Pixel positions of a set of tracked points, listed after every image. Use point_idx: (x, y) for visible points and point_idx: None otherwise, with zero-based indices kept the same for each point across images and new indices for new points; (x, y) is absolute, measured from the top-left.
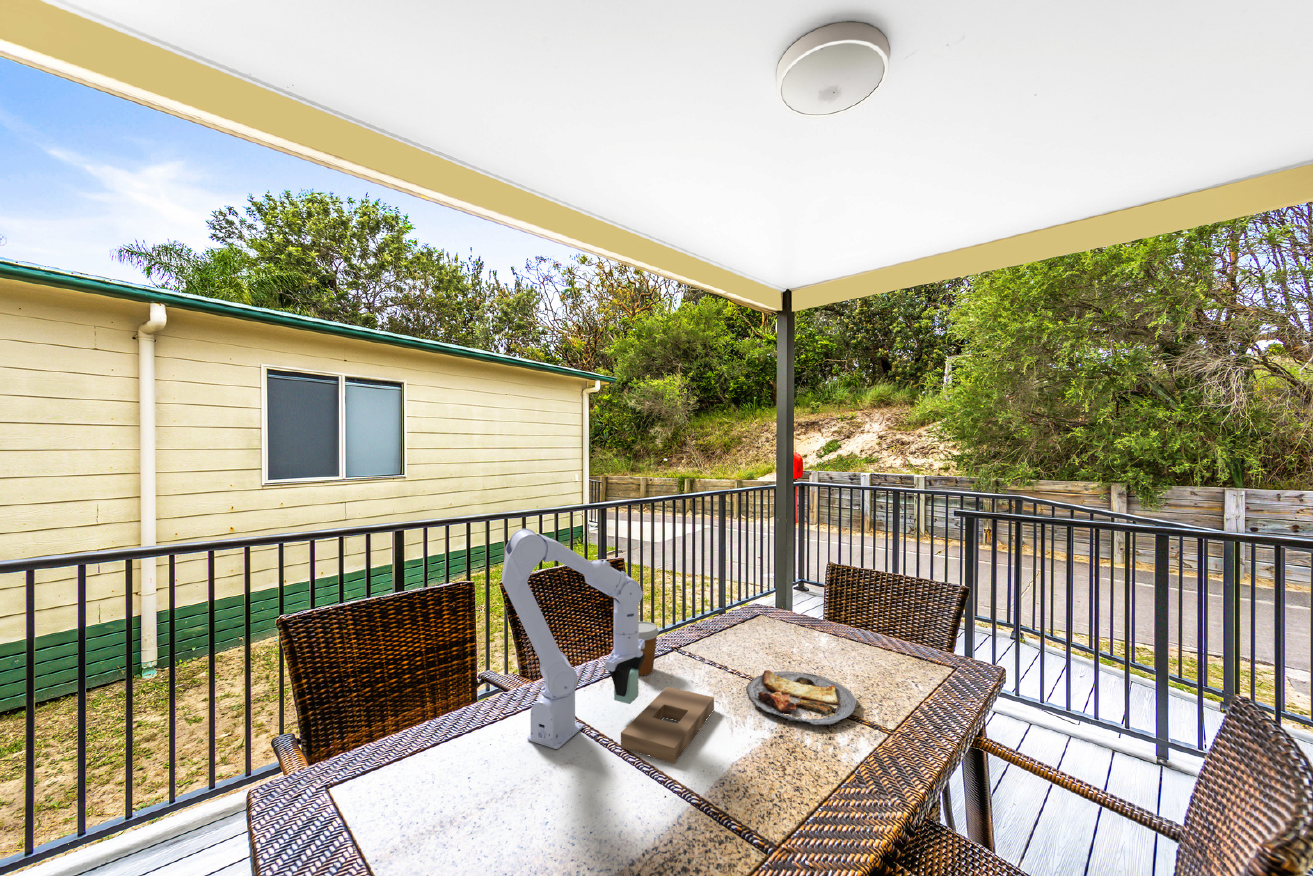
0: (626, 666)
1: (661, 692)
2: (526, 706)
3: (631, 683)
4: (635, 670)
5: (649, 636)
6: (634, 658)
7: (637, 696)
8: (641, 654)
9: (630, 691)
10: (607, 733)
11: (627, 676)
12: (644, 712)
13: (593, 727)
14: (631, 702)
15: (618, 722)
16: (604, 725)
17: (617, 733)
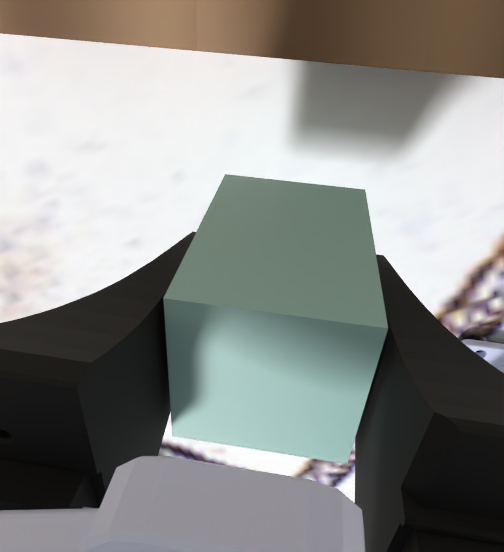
0: (464, 485)
1: (28, 34)
2: None
3: (338, 267)
4: (196, 320)
5: None
6: (109, 444)
7: (237, 177)
8: (236, 511)
9: (358, 233)
10: (498, 217)
11: (433, 355)
12: (387, 39)
13: (448, 299)
14: (335, 187)
15: (370, 206)
16: (418, 260)
17: (491, 165)
